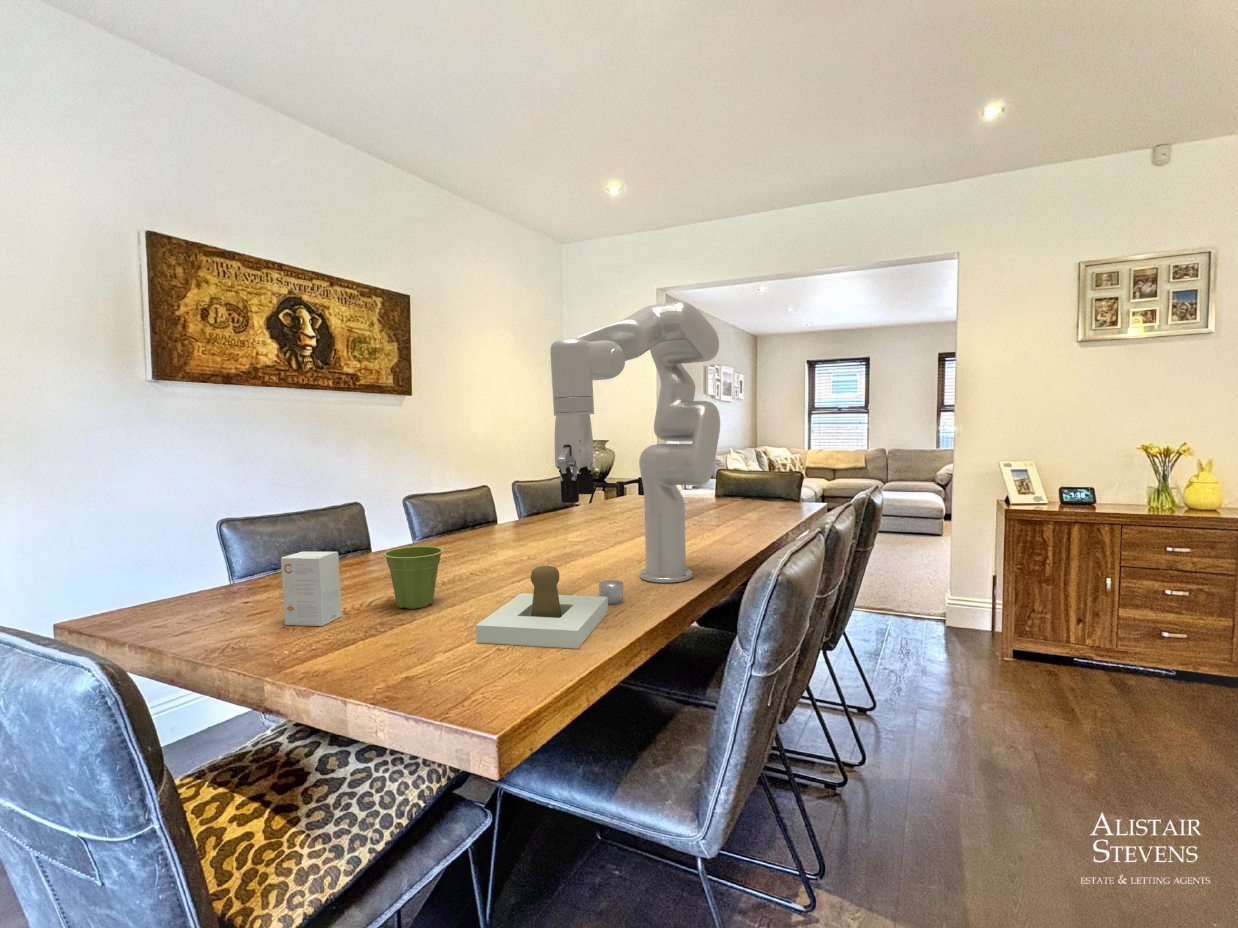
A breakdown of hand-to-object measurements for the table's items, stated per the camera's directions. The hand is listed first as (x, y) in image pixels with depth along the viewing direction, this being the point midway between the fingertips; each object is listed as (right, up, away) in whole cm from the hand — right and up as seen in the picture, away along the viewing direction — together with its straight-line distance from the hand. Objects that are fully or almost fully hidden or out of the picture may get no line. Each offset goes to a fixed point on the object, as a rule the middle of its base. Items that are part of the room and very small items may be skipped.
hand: (578, 498), depth 116 cm
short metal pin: (+6, -22, +11) cm, 25 cm away
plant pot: (-35, -23, +12) cm, 43 cm away
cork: (-5, -23, -4) cm, 24 cm away
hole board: (-6, -23, -4) cm, 24 cm away
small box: (-51, -24, +2) cm, 57 cm away
